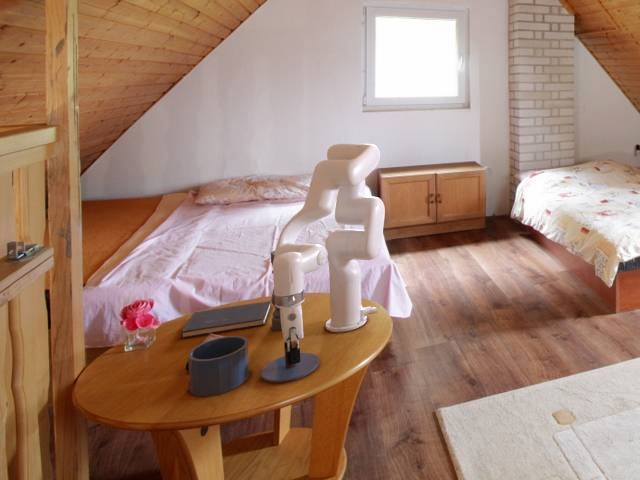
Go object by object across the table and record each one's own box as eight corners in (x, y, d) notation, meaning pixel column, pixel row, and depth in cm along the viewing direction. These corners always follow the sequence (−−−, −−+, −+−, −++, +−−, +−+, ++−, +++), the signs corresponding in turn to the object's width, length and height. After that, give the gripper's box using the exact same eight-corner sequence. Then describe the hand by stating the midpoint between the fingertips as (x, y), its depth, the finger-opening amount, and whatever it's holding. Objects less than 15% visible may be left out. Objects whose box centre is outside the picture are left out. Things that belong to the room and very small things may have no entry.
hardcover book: (264, 325, 191) (264, 318, 191) (181, 338, 183) (181, 331, 182) (271, 306, 206) (271, 300, 206) (194, 318, 197) (194, 311, 197)
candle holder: (297, 323, 193) (295, 249, 192) (281, 331, 187) (279, 255, 186) (283, 320, 195) (281, 247, 194) (267, 329, 189) (265, 253, 188)
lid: (316, 351, 174) (315, 331, 173) (322, 374, 161) (322, 352, 161) (260, 366, 166) (259, 345, 166) (262, 390, 153) (261, 367, 153)
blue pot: (248, 363, 167) (247, 331, 167) (249, 385, 156) (248, 351, 155) (191, 377, 160) (189, 344, 160) (188, 402, 148) (186, 366, 148)
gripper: (307, 305, 158) (310, 365, 159) (301, 283, 172) (303, 339, 173) (276, 312, 154) (279, 374, 155) (272, 289, 168) (275, 346, 169)
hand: (292, 355), depth 164 cm, fingers open, 9 cm apart
